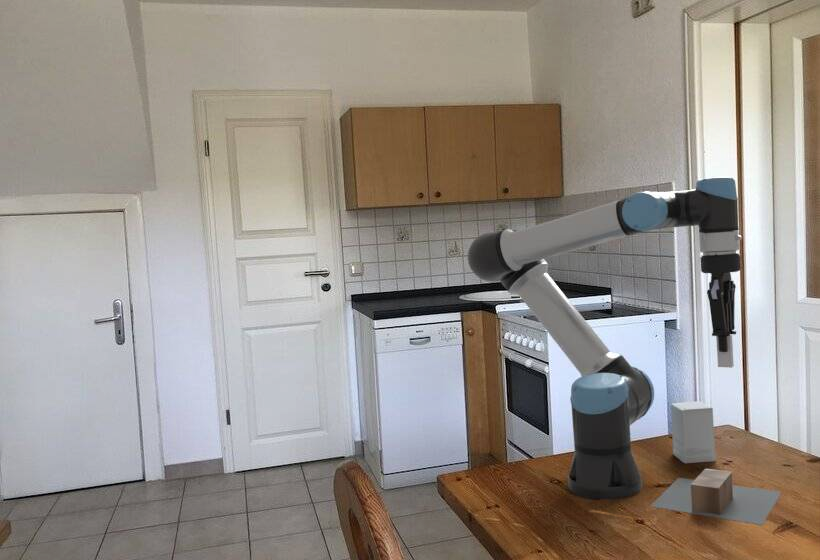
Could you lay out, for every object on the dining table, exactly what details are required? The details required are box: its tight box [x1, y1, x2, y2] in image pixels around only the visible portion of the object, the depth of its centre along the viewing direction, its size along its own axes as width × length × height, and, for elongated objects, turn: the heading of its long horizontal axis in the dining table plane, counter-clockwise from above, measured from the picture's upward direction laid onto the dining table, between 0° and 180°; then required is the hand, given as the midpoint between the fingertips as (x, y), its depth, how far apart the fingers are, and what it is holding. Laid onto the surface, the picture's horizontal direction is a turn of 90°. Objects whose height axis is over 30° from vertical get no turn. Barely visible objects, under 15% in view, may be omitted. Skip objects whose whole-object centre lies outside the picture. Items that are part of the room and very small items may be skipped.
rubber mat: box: [649, 477, 783, 526], centre depth 141 cm, size 20×18×1 cm
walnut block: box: [691, 468, 734, 515], centre depth 139 cm, size 5×5×10 cm
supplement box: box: [670, 400, 717, 464], centre depth 166 cm, size 7×7×13 cm
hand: (725, 366), depth 149 cm, fingers closed
